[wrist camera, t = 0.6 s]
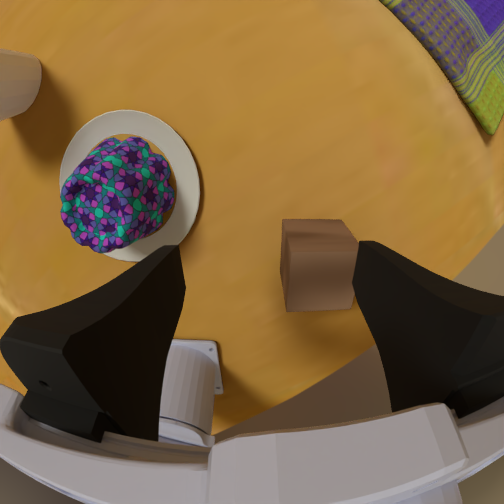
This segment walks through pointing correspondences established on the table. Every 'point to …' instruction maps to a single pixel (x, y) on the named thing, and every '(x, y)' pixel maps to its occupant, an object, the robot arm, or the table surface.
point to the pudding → (127, 186)
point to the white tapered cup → (18, 82)
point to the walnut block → (317, 264)
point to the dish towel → (463, 48)
